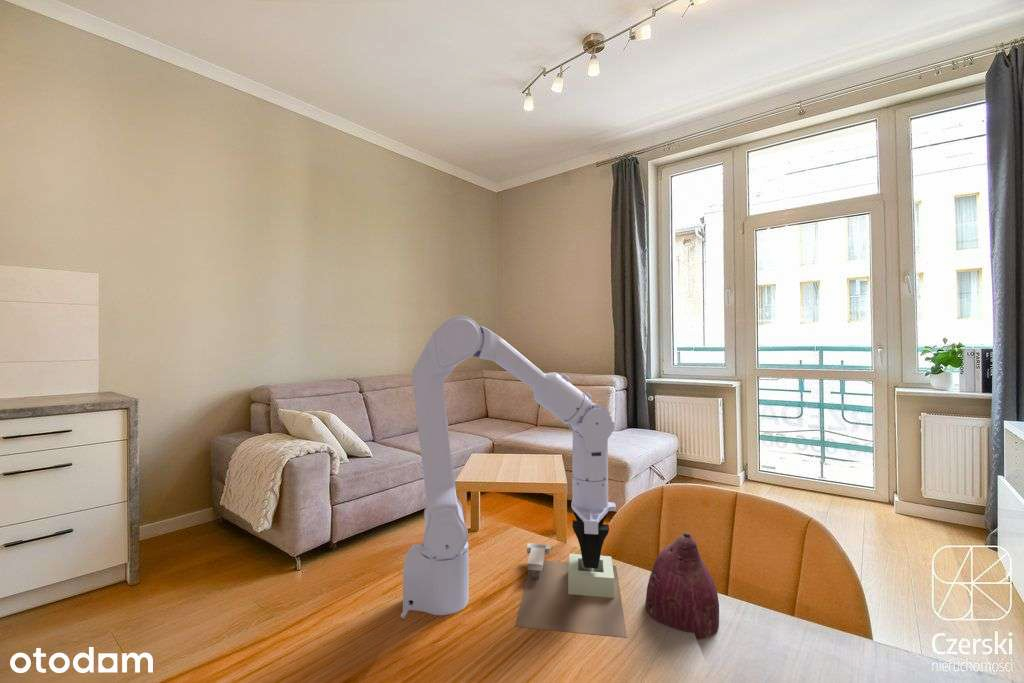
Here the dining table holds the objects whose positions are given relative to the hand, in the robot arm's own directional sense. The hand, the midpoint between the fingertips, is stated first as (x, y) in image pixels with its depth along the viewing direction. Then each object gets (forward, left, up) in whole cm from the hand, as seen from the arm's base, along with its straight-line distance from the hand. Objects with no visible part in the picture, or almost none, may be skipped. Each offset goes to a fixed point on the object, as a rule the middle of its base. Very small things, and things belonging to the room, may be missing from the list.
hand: (590, 560), depth 71 cm
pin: (0, 0, -4) cm, 4 cm away
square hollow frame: (0, 0, -5) cm, 5 cm away
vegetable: (+13, -5, -5) cm, 15 cm away
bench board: (-3, -3, -5) cm, 6 cm away
